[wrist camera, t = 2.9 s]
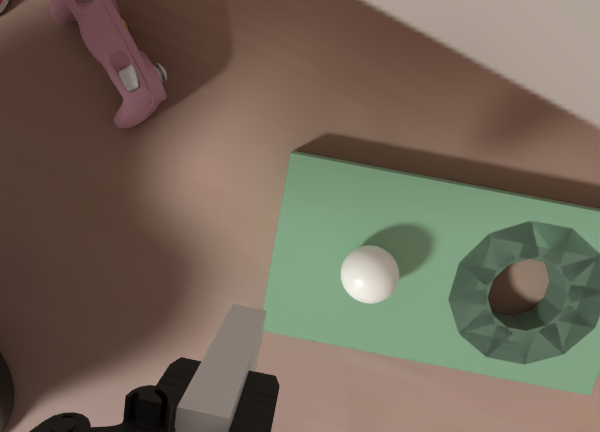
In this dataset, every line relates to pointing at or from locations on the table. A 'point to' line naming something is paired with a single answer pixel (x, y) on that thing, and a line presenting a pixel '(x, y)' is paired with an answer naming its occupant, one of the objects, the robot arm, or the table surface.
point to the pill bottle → (3, 4)
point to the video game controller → (116, 56)
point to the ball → (369, 274)
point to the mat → (437, 272)
